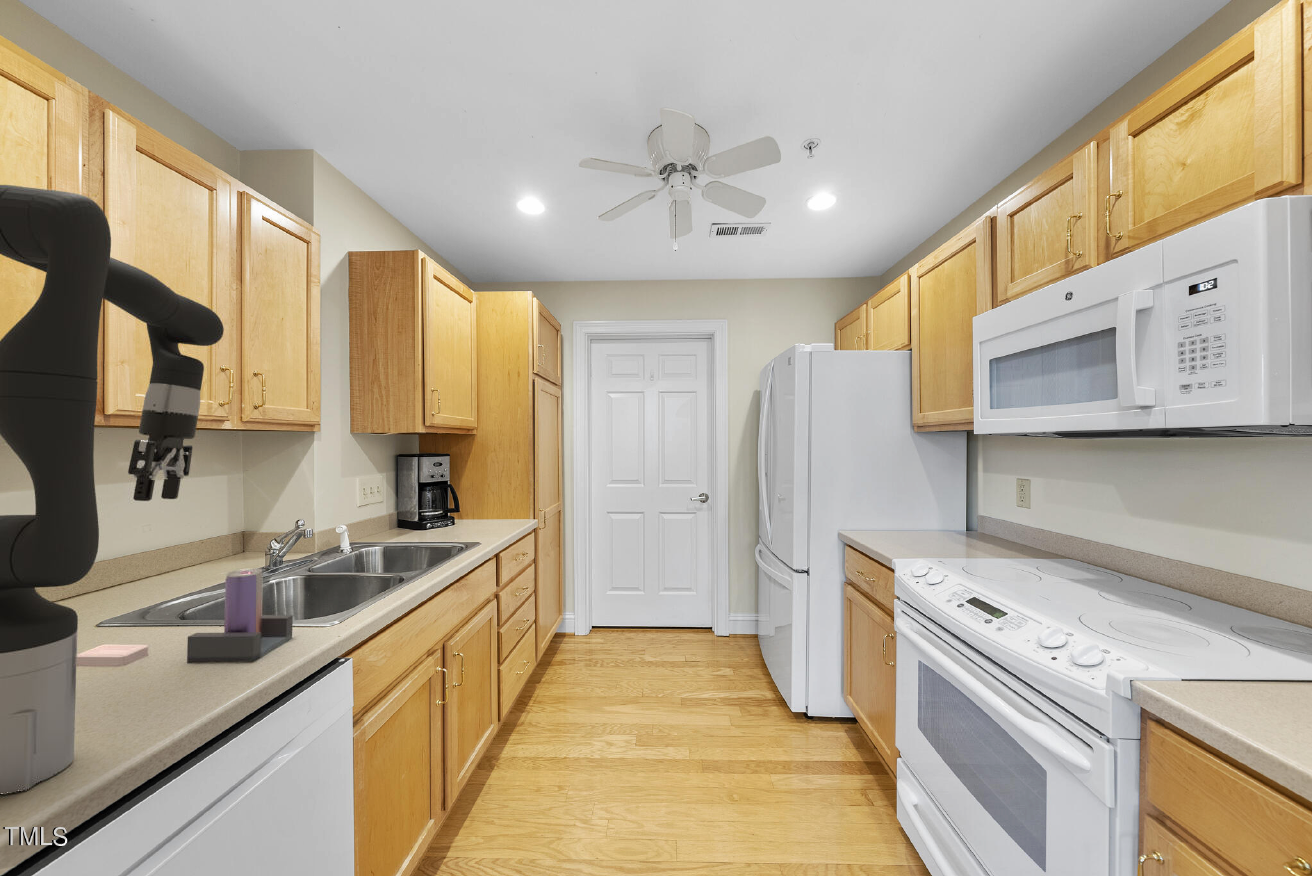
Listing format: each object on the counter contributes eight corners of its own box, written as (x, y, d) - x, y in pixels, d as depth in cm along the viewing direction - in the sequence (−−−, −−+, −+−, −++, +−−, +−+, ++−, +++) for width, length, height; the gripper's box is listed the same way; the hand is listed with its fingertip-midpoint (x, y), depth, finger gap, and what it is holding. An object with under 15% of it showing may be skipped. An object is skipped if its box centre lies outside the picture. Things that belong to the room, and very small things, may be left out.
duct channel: (292, 637, 111) (292, 614, 111) (253, 661, 99) (254, 636, 99) (233, 638, 110) (233, 615, 110) (187, 662, 98) (187, 636, 98)
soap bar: (103, 655, 101) (103, 643, 101) (150, 655, 102) (150, 643, 102) (73, 667, 96) (73, 654, 96) (122, 668, 96) (122, 655, 96)
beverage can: (240, 652, 101) (241, 576, 101) (216, 649, 102) (217, 574, 102) (268, 641, 107) (270, 569, 107) (245, 638, 108) (247, 567, 108)
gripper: (167, 414, 100) (152, 497, 98) (120, 403, 87) (103, 500, 85) (214, 418, 102) (200, 499, 101) (176, 408, 89) (160, 502, 87)
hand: (156, 499), depth 93 cm, fingers open, 8 cm apart
